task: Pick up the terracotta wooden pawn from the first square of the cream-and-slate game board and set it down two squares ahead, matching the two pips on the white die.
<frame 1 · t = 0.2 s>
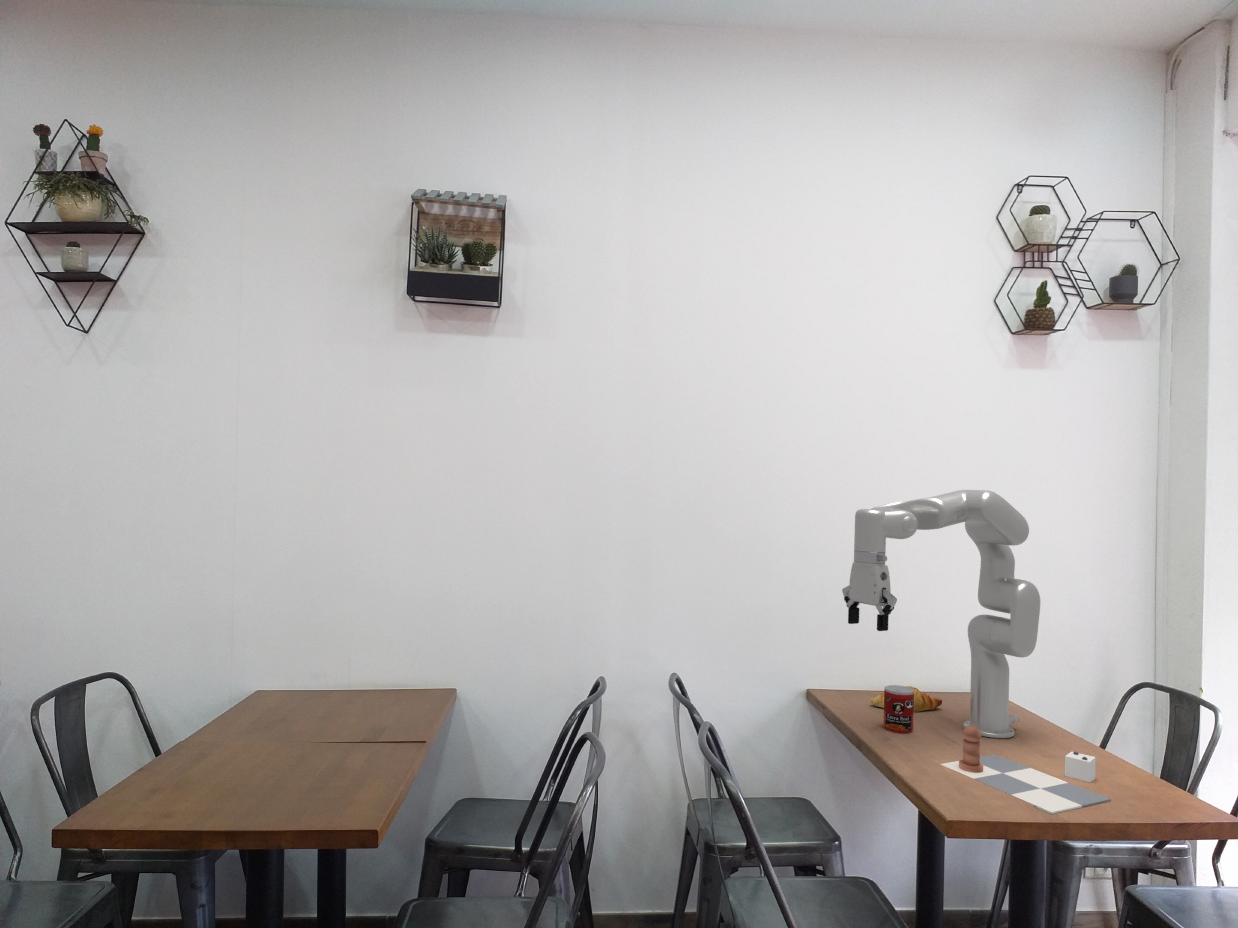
hand: (867, 626, 192), 31 cm above the table, tool pointing down, fingers open, 9 cm apart
croissant: (905, 709, 231), on the table
pawn: (971, 768, 181), resting on board
die: (1079, 778, 178), on the table
canned food: (898, 729, 210), on the table
board: (1021, 782, 174), on the table
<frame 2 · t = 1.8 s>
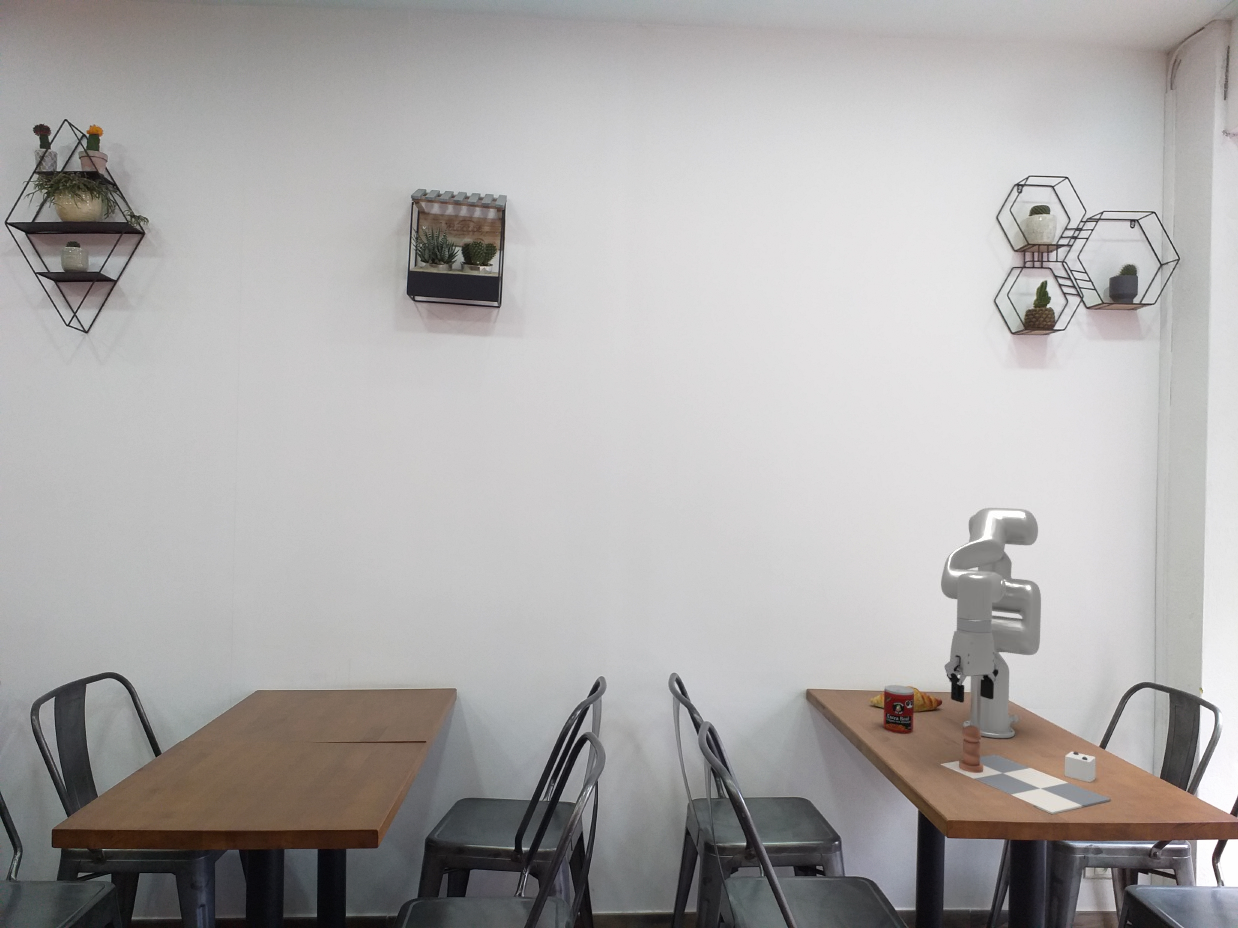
hand: (972, 699, 181), 17 cm above the table, tool pointing down, fingers open, 9 cm apart
nothing on the table moved.
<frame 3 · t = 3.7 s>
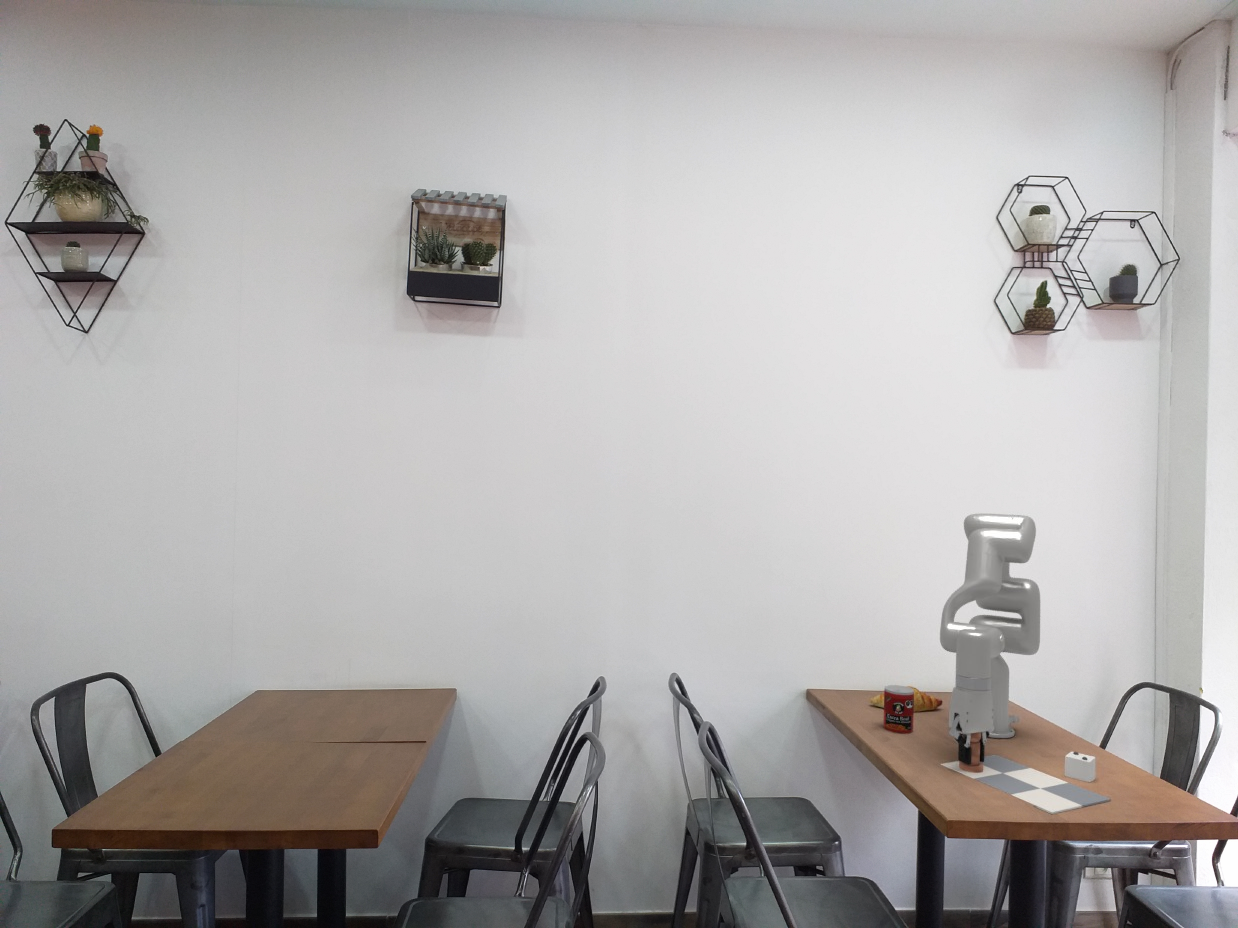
hand: (971, 760, 181), 2 cm above the table, tool pointing down, fingers closed on pawn, 3 cm apart
pawn: (971, 768, 181), resting on board, touching gripper
everything else where it was.
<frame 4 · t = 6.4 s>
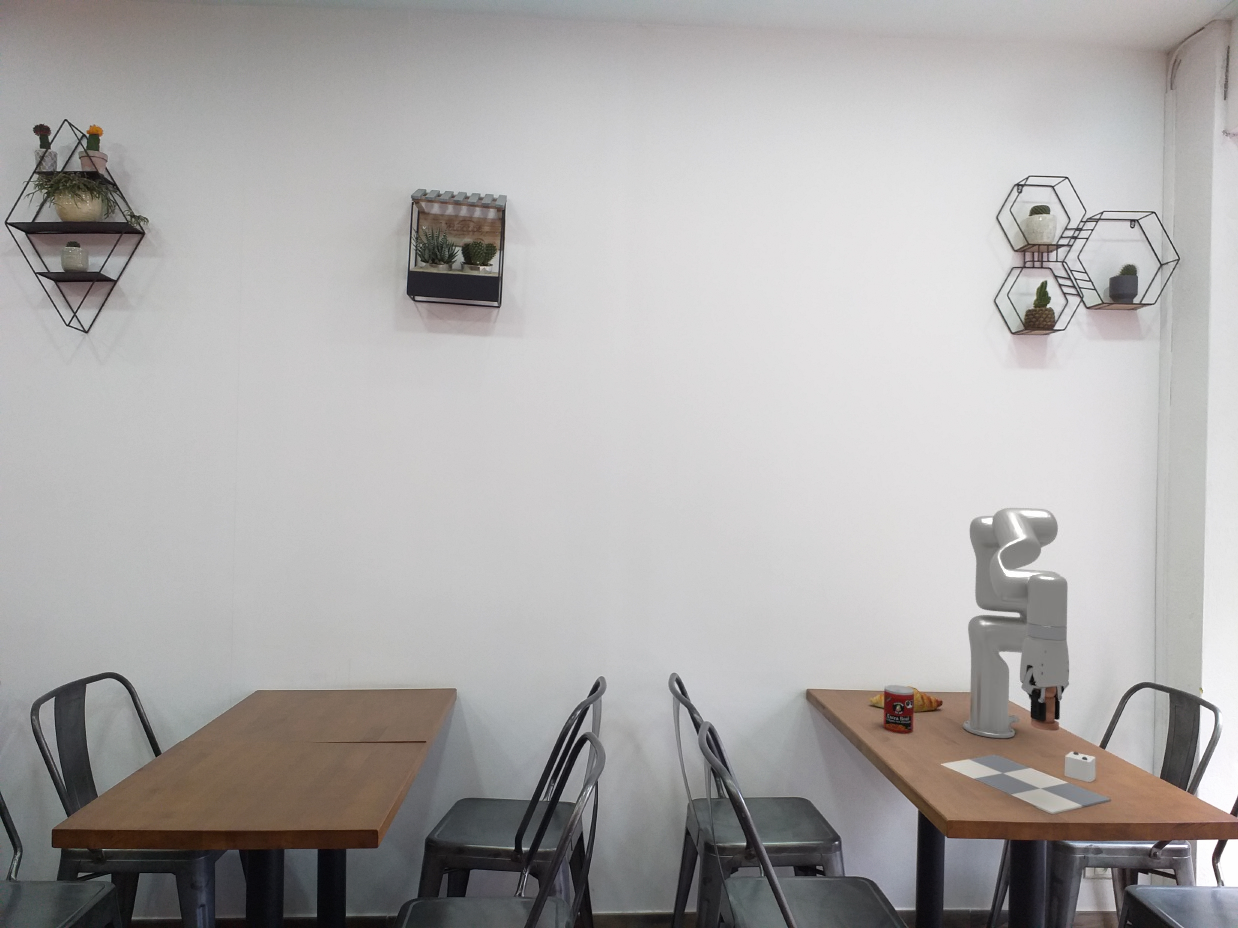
hand: (1045, 717, 164), 18 cm above the table, tool pointing down, fingers closed on pawn, 3 cm apart
pawn: (1044, 726, 164), point 16 cm above the table, touching gripper
everything else where it was.
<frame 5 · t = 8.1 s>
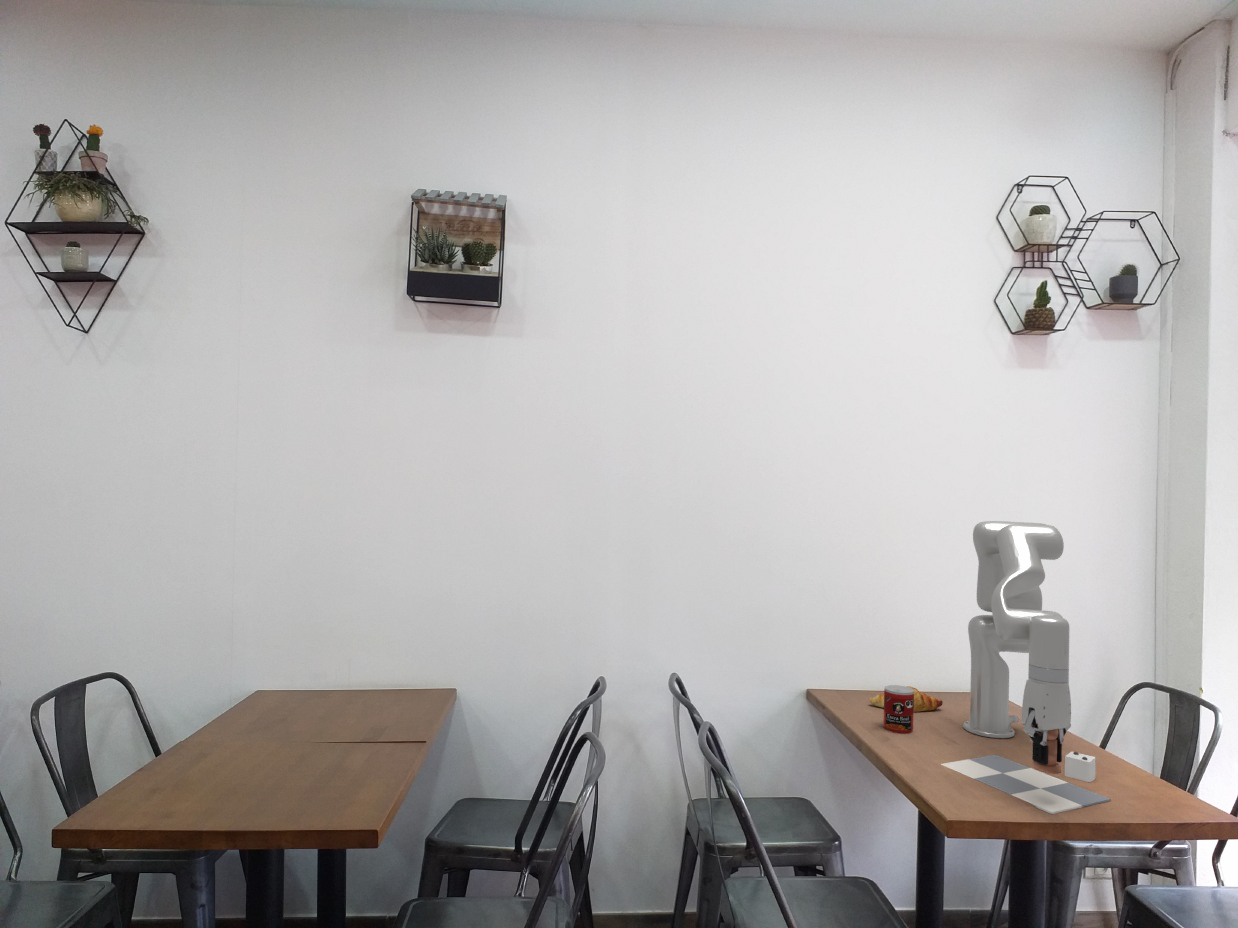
hand: (1046, 760, 163), 9 cm above the table, tool pointing down, fingers closed on pawn, 3 cm apart
pawn: (1046, 769, 163), point 7 cm above the table, touching gripper
everything else where it was.
when the fingers open (4 cm above the table, at t = 9.3 s): pawn drops 1 cm, resting on board.
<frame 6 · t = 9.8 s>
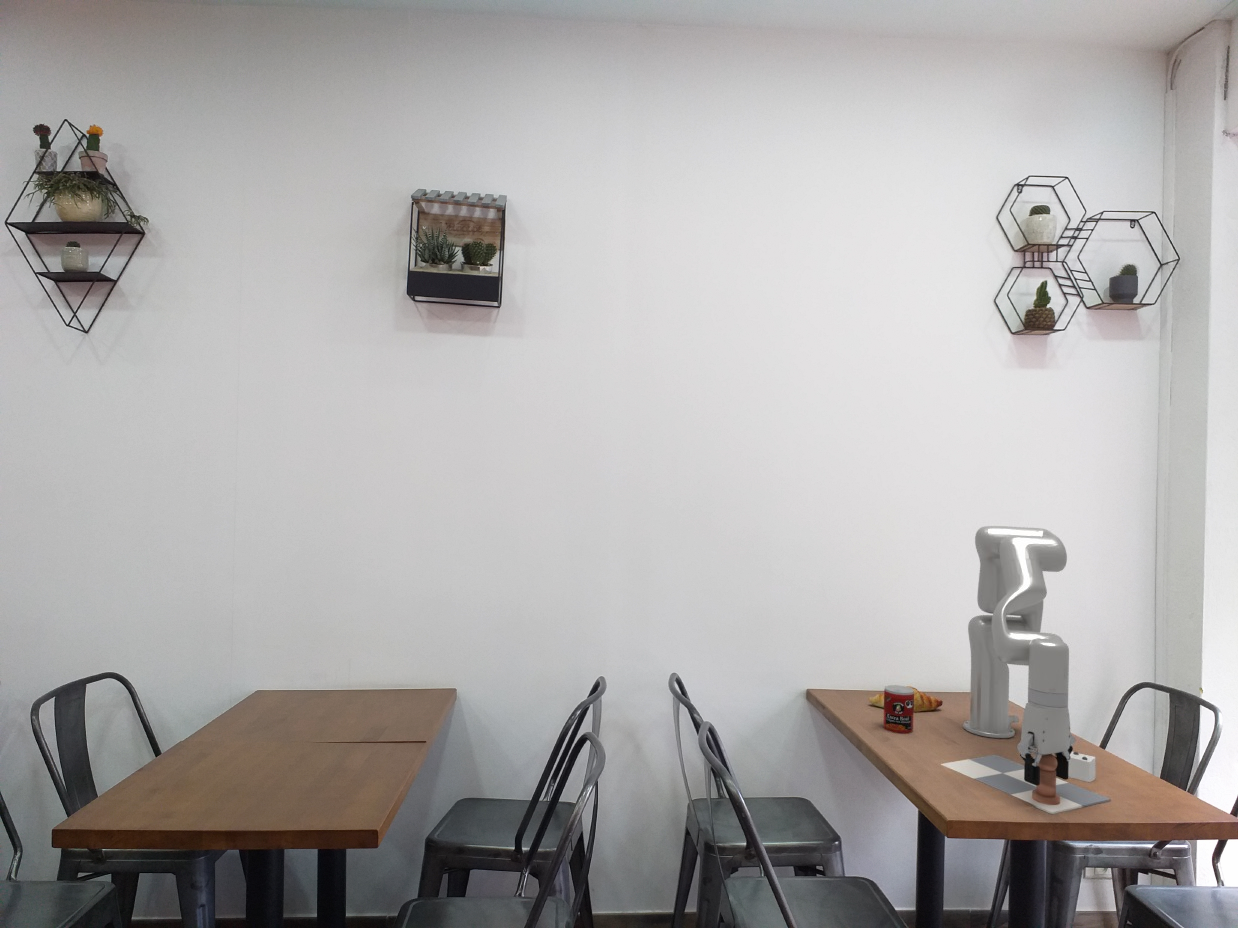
hand: (1046, 779, 164), 5 cm above the table, tool pointing down, fingers open, 8 cm apart
pawn: (1045, 799, 163), resting on board
everything else where it was.
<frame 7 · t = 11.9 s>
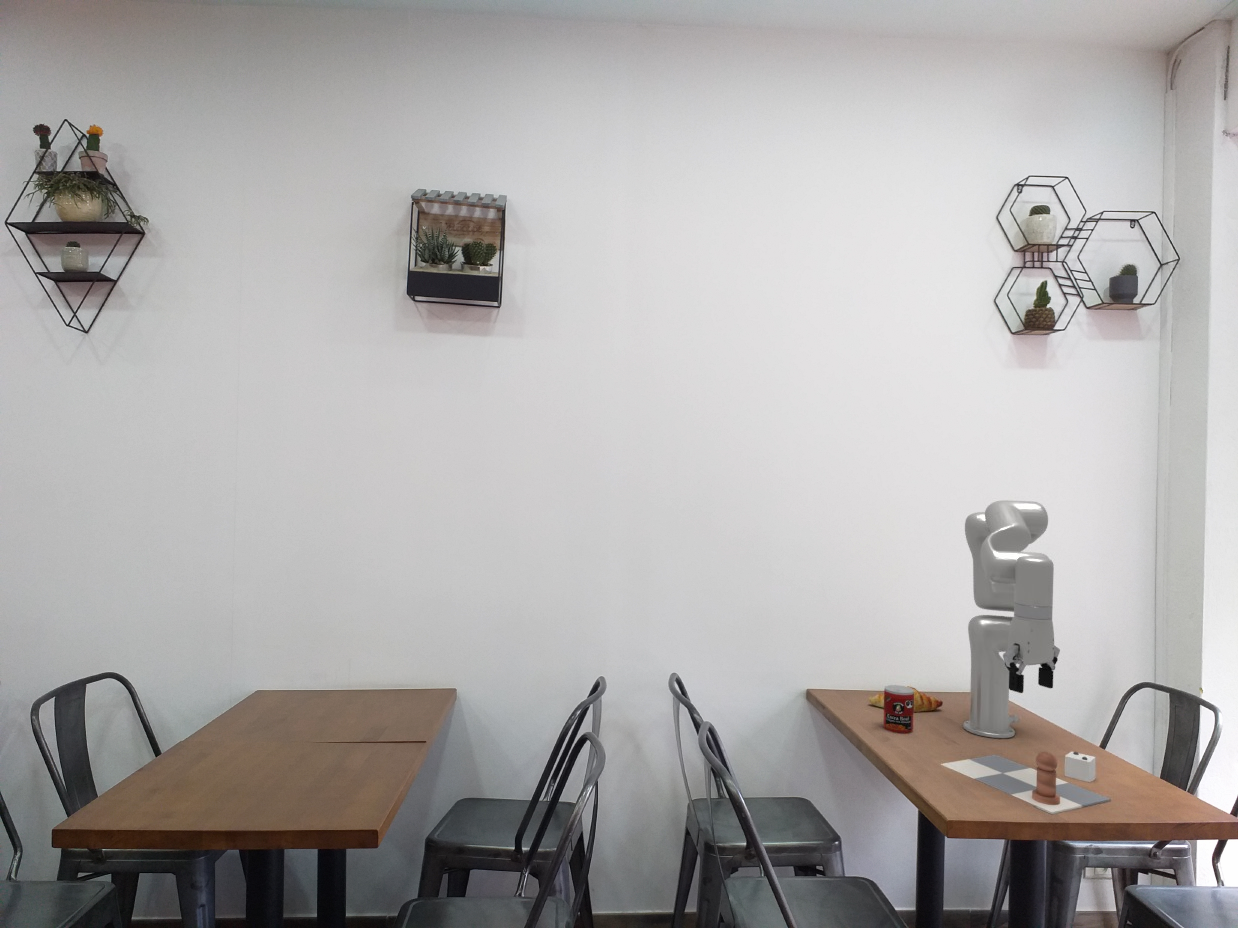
hand: (1030, 688, 171), 22 cm above the table, tool pointing down, fingers open, 9 cm apart
nothing on the table moved.
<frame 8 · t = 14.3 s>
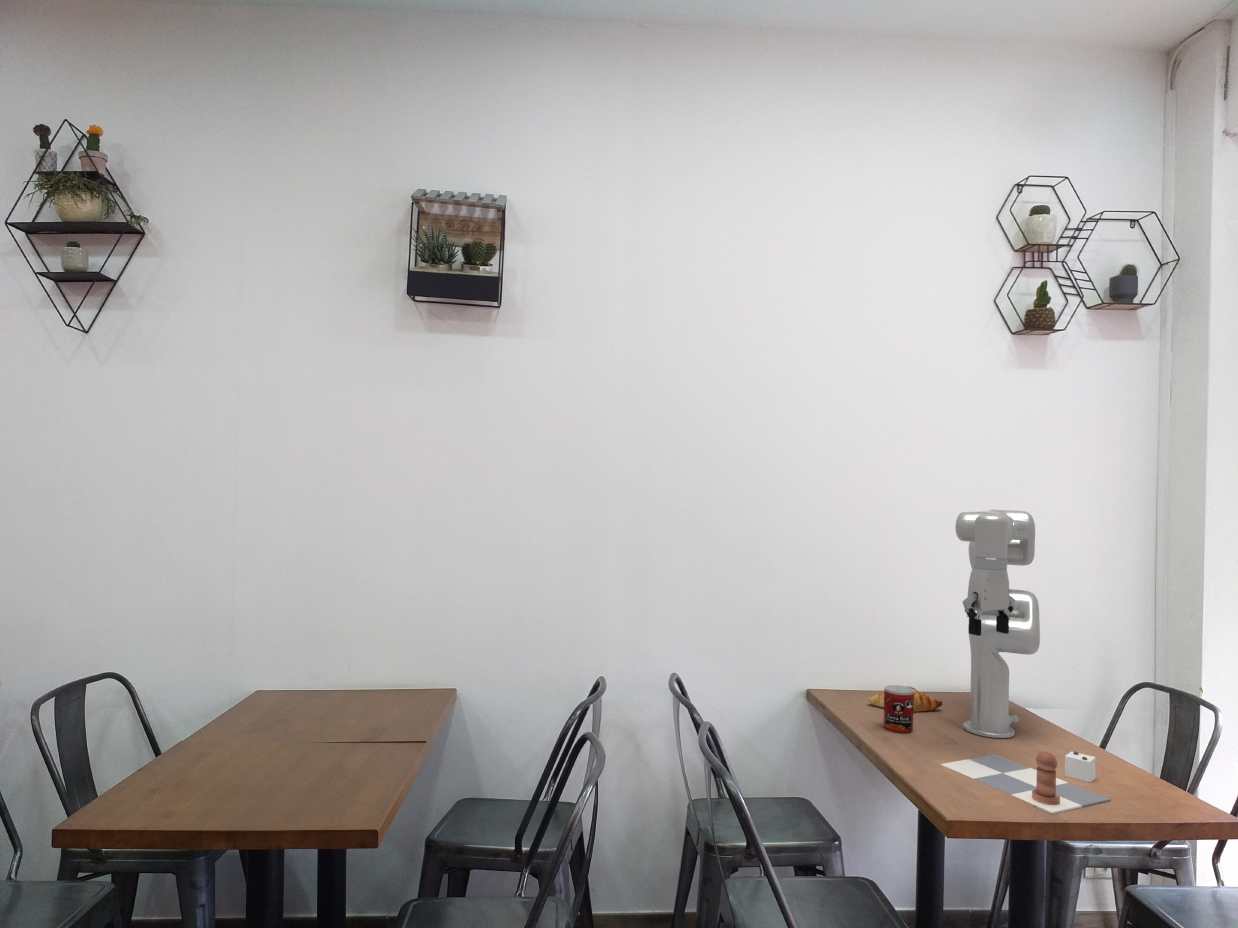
hand: (988, 633, 191), 30 cm above the table, tool pointing down, fingers open, 9 cm apart
nothing on the table moved.
at the end: pawn 0.0 cm from the target spot on the board, point 0.4 cm above the board's base; pawn tilted 0°; the gripper is holding nothing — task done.
